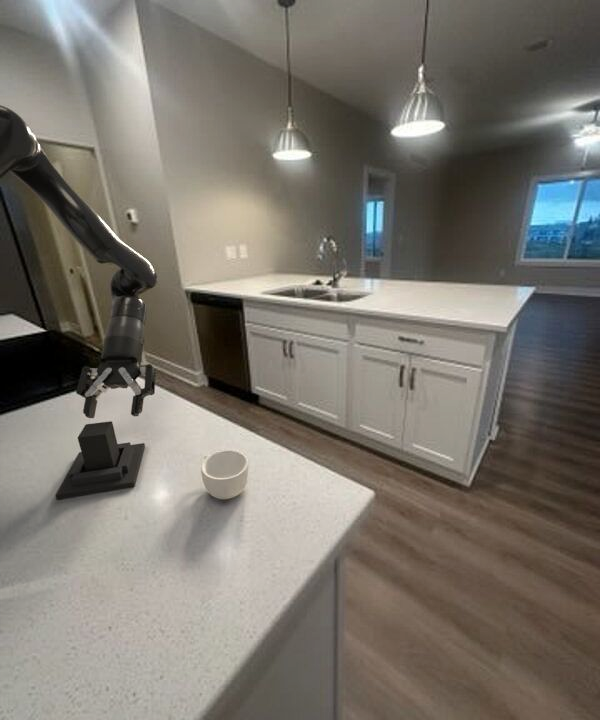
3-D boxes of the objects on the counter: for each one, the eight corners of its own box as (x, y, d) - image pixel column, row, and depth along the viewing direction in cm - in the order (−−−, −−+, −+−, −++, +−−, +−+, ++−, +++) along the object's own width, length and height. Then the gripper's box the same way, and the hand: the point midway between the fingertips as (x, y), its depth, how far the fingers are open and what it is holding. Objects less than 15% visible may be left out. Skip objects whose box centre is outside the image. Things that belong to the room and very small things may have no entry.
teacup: (259, 488, 59) (257, 462, 57) (222, 514, 54) (219, 487, 52) (224, 463, 65) (221, 439, 64) (188, 484, 60) (184, 459, 58)
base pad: (56, 500, 57) (52, 488, 56) (80, 456, 68) (77, 445, 67) (134, 486, 60) (132, 475, 59) (145, 446, 71) (143, 436, 70)
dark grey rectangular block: (88, 475, 61) (77, 437, 58) (95, 460, 65) (85, 424, 62) (115, 471, 62) (105, 434, 59) (120, 456, 66) (112, 420, 63)
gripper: (80, 335, 69) (62, 413, 63) (152, 333, 71) (142, 409, 64) (98, 350, 76) (84, 422, 70) (163, 348, 77) (156, 419, 71)
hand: (112, 416), depth 67 cm, fingers open, 8 cm apart
